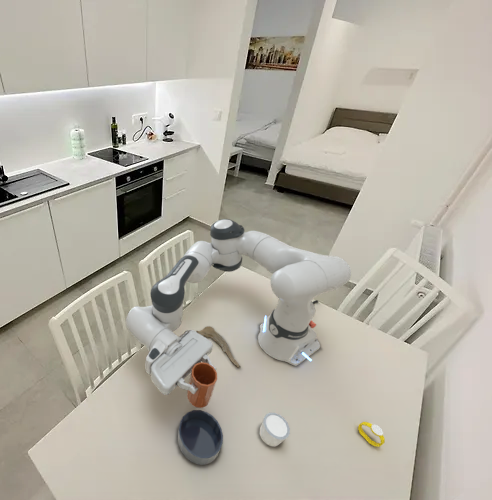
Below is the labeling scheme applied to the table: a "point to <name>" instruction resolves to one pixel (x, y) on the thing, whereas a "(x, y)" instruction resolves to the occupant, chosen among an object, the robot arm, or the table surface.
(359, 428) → the watch
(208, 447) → the wide pot
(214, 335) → the jawbone
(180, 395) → the table surface
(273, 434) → the white cylinder
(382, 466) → the table surface
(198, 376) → the orange cup
